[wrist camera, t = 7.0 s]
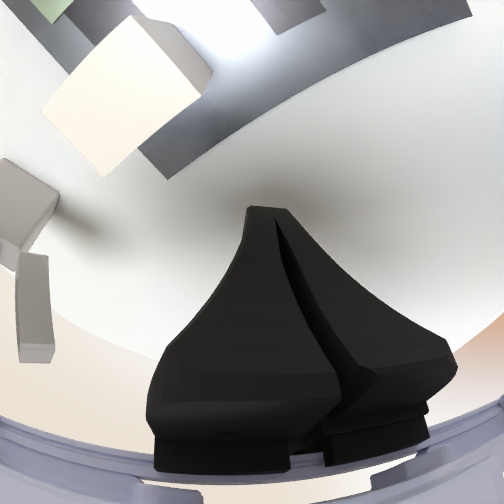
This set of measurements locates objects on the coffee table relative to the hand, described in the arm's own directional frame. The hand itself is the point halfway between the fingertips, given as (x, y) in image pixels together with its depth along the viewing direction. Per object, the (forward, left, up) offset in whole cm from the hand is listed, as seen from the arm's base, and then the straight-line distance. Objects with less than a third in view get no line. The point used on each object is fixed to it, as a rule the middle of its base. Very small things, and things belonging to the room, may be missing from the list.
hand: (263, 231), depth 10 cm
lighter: (+6, +9, -4) cm, 11 cm away
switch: (+6, 0, -2) cm, 7 cm away
